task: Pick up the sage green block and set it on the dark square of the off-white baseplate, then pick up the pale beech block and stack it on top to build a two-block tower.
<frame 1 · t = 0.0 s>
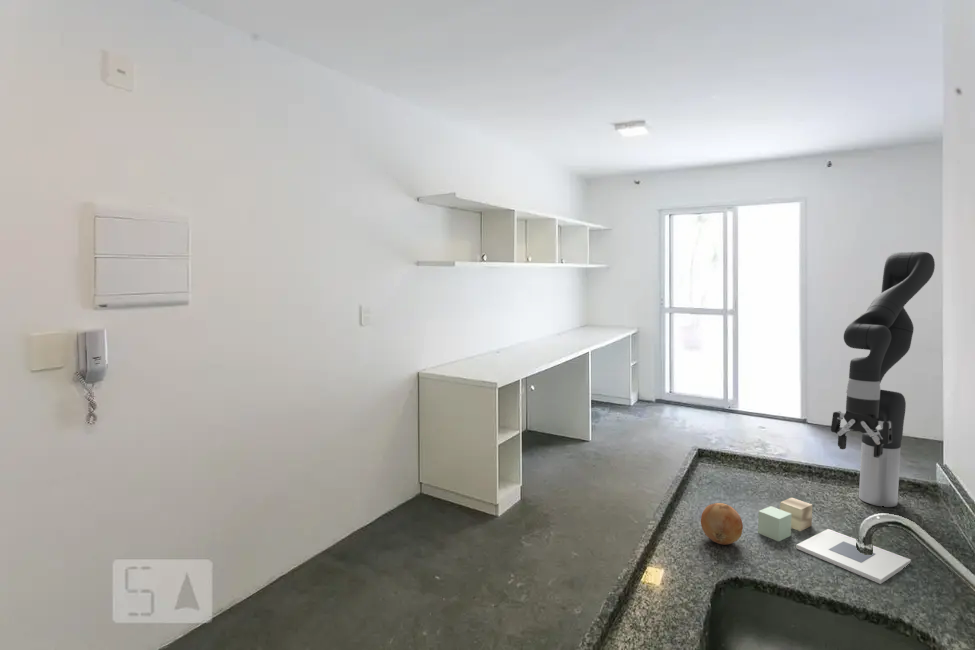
hand: (859, 452, 148), 17 cm above the counter, tool pointing down, fingers open, 8 cm apart
beech block: (795, 524, 143), on the counter
baseplate: (851, 555, 127), on the counter
sage block: (774, 534, 138), on the counter
onion: (721, 542, 134), on the counter
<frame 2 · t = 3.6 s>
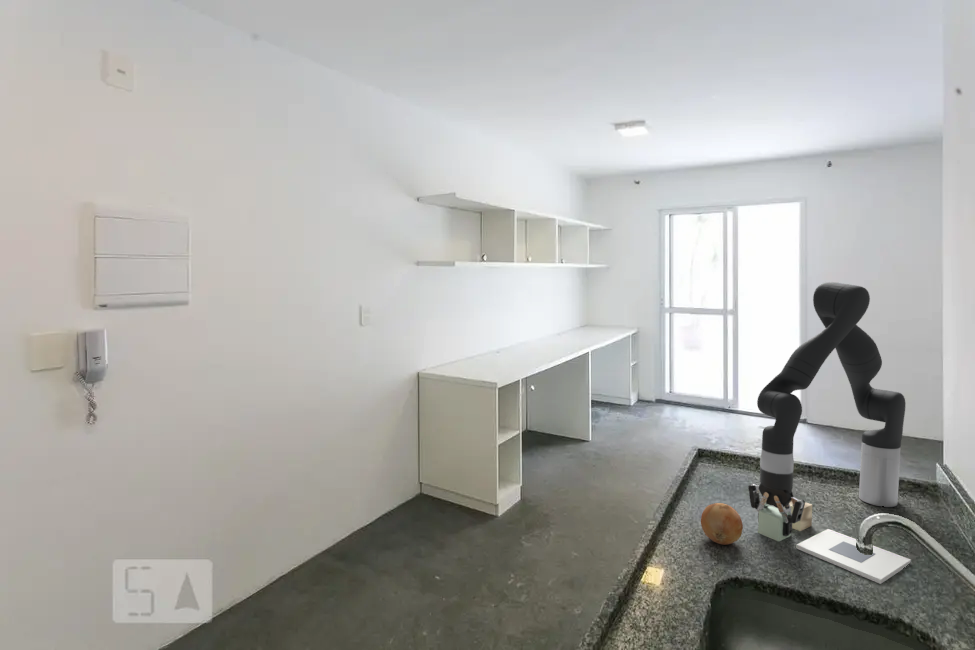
hand: (774, 530, 138), 1 cm above the counter, tool pointing down, fingers closed on sage block, 5 cm apart
sage block: (774, 534, 138), on the counter, touching gripper
everything else where it was.
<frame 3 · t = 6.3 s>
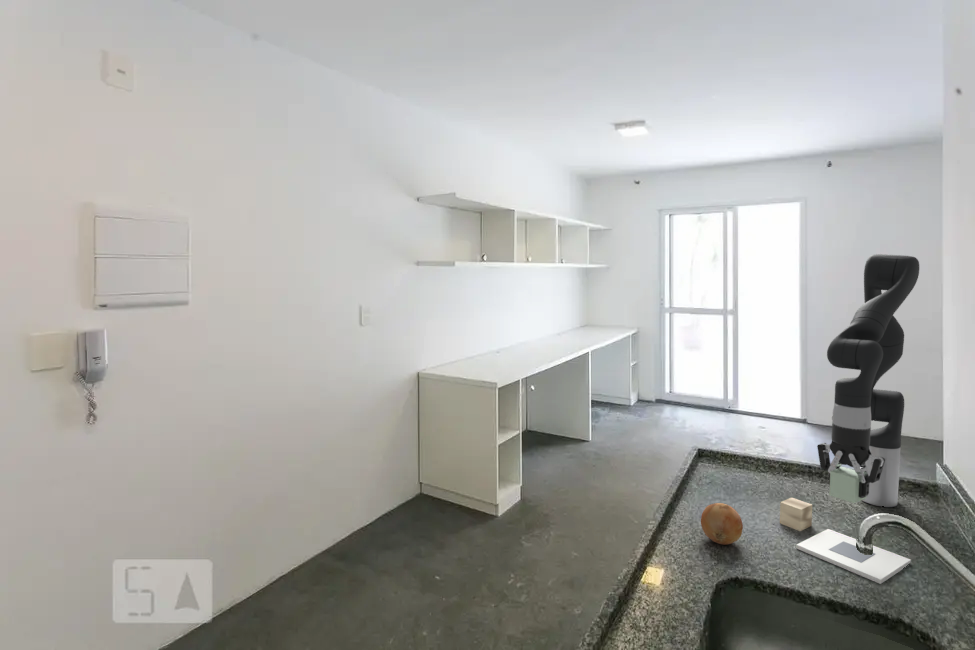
hand: (847, 492, 126), 15 cm above the counter, tool pointing down, fingers closed on sage block, 5 cm apart
sage block: (847, 496, 126), point 14 cm above the counter, touching gripper
everything else where it was.
when the fingers open (4 cm above the counter, at t = 9.2 s): sage block drops 2 cm, resting on baseplate.
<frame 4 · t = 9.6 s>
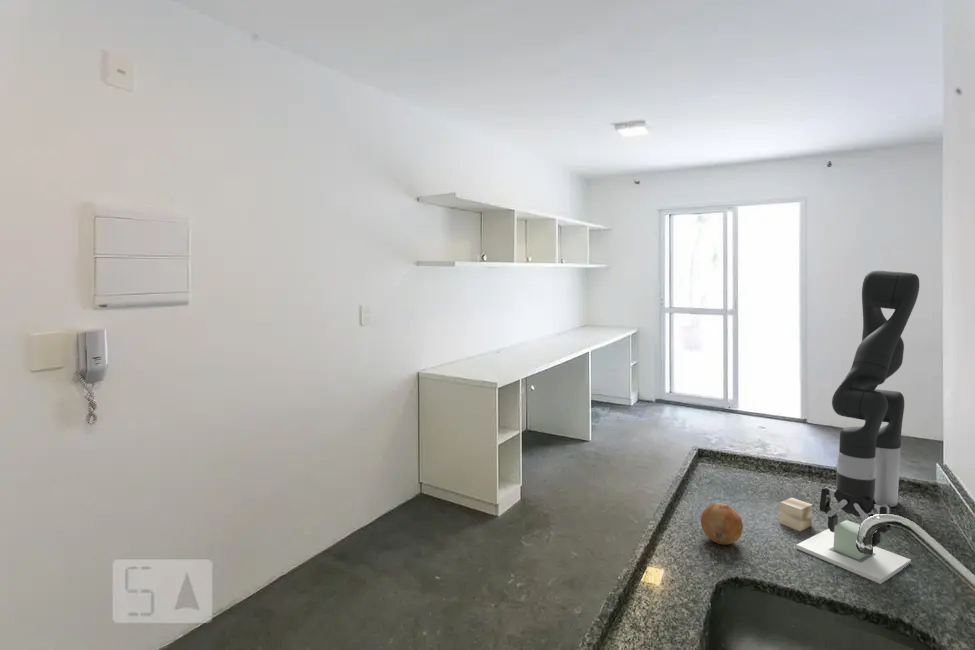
hand: (852, 538, 126), 4 cm above the counter, tool pointing down, fingers open, 8 cm apart
sage block: (851, 551, 127), point 1 cm above the counter, touching baseplate
everything else where it was.
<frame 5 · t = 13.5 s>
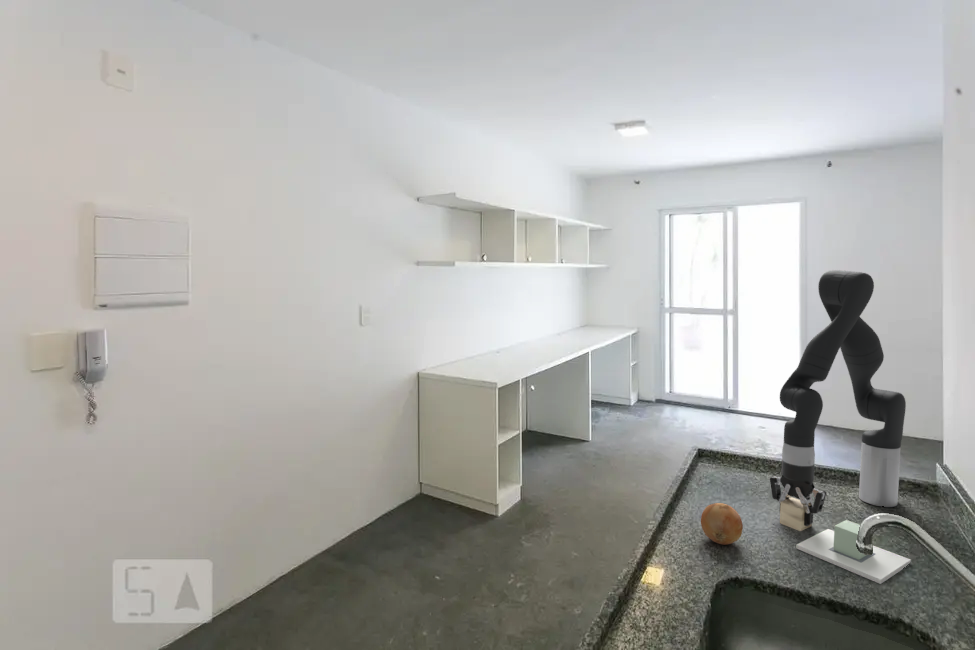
hand: (795, 520, 143), 1 cm above the counter, tool pointing down, fingers closed on beech block, 5 cm apart
beech block: (795, 524, 143), on the counter, touching gripper
everything else where it was.
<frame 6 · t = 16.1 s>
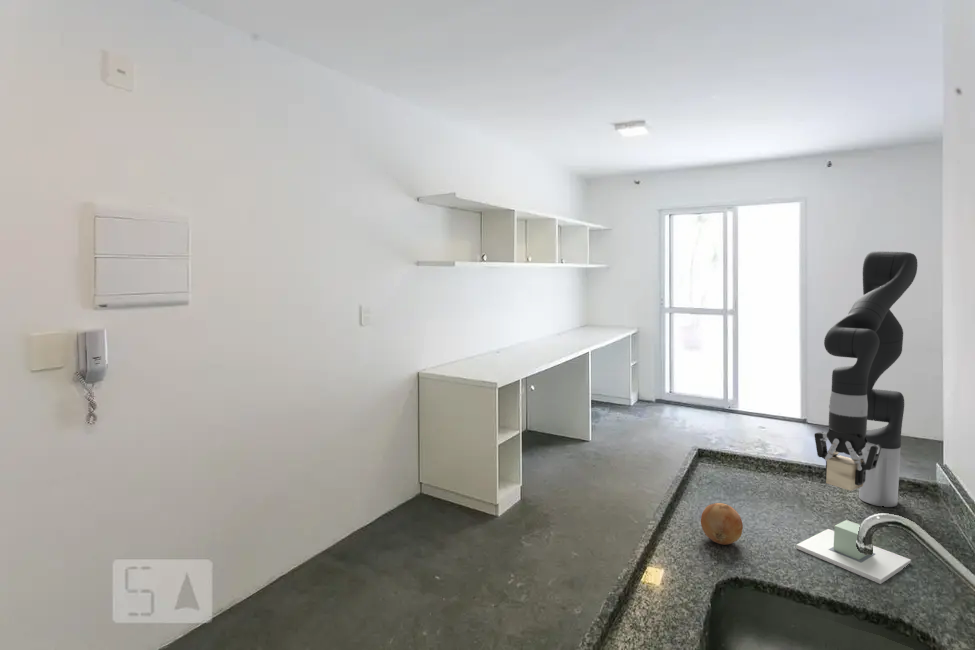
hand: (844, 480, 127), 18 cm above the counter, tool pointing down, fingers closed on beech block, 5 cm apart
beech block: (844, 484, 127), point 17 cm above the counter, touching gripper
everything else where it was.
when the fingers open (9 cm above the counter, at t = 18.7 s): beech block drops 1 cm, resting on sage block.
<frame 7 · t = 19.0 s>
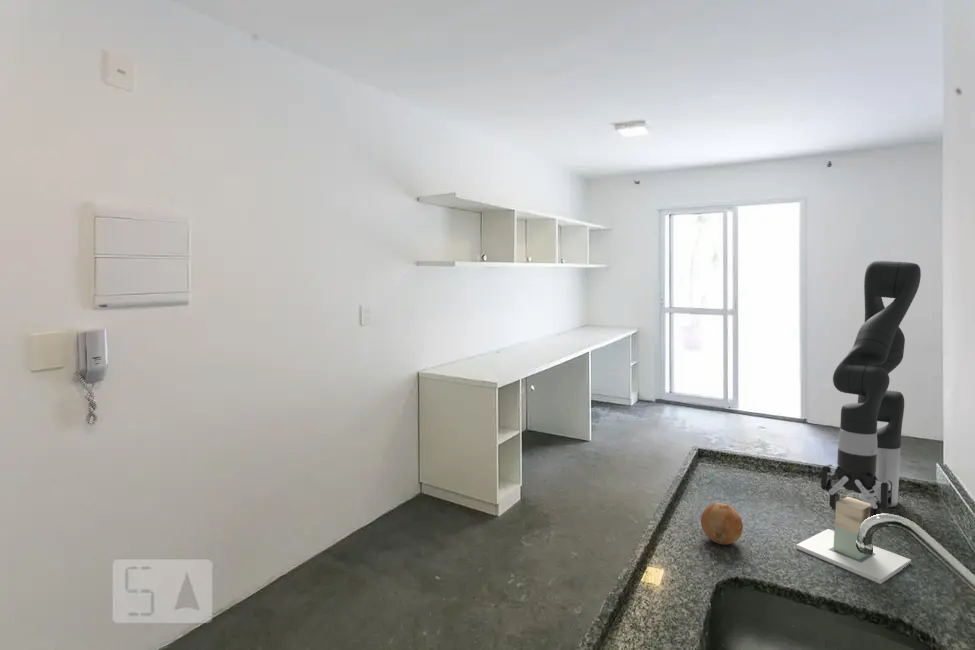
hand: (853, 515, 126), 10 cm above the counter, tool pointing down, fingers open, 8 cm apart
beech block: (853, 527, 126), point 7 cm above the counter, touching sage block
sage block: (851, 551, 127), point 1 cm above the counter, touching baseplate, beech block
everything else where it was.
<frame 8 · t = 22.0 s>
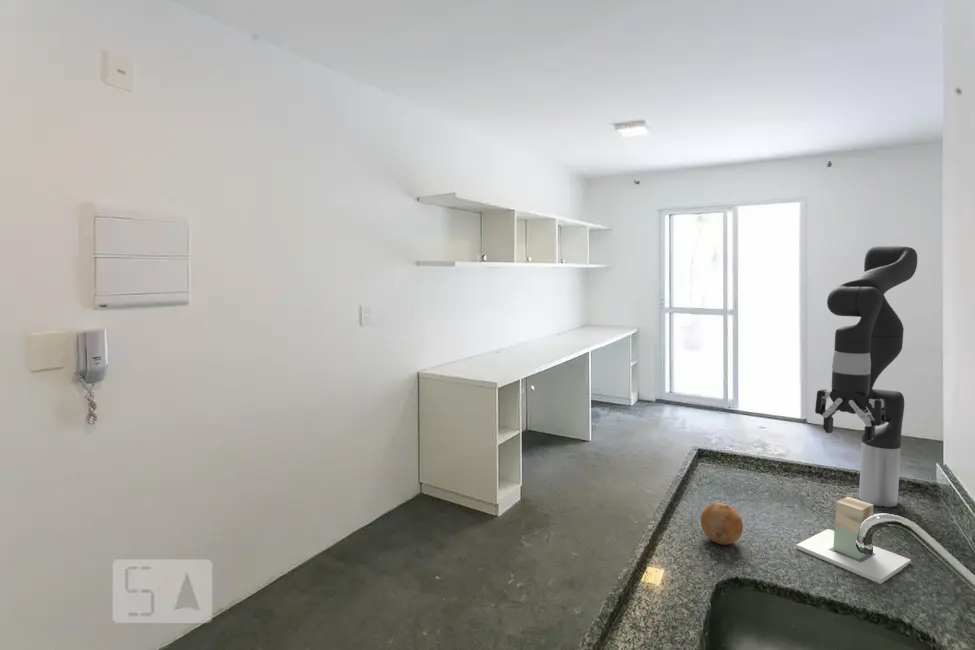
hand: (847, 436, 128), 28 cm above the counter, tool pointing down, fingers open, 8 cm apart
nothing on the counter moved.
at the end: sage block 0.1 cm off-centre on the baseplate, point 1.1 cm above the baseplate's base; beech block 0.1 cm off-centre on the sage block, point 6.0 cm above the sage block's base; beech block tilted 0° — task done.
